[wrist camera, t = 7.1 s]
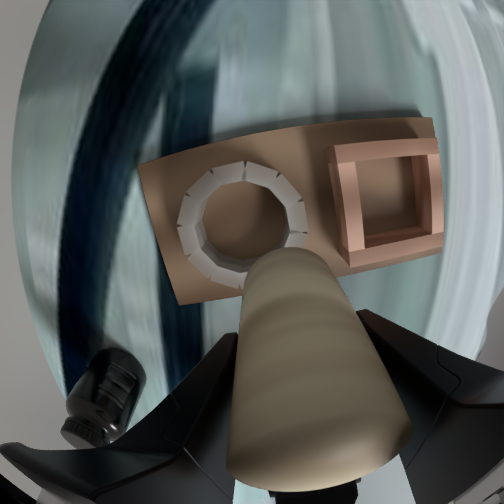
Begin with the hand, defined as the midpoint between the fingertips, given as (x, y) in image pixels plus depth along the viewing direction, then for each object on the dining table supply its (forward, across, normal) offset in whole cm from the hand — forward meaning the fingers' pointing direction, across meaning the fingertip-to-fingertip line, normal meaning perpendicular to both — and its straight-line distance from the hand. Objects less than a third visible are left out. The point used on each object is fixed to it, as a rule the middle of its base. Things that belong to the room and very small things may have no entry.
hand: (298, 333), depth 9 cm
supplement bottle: (+13, +20, +13) cm, 27 cm away
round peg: (+3, 0, 0) cm, 3 cm away
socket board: (+13, -3, -2) cm, 14 cm away
